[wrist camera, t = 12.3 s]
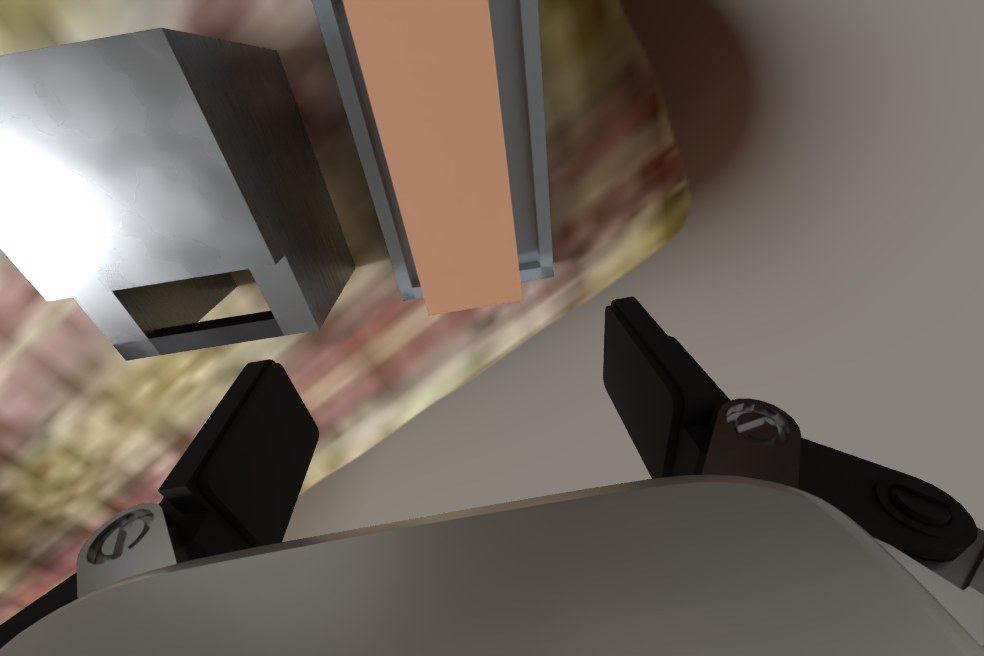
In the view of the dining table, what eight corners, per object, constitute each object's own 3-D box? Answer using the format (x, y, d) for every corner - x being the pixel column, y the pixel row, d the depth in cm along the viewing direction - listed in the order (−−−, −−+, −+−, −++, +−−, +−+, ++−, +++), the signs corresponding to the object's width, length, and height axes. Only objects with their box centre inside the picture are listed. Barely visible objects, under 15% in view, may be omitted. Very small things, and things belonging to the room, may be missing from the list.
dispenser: (85, 83, 19) (-148, 81, 12) (276, 50, 19) (161, 27, 12) (210, 291, 26) (110, 373, 18) (355, 267, 26) (312, 341, 18)
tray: (319, -12, 18) (305, -22, 16) (527, -48, 18) (534, -62, 16) (406, 287, 27) (403, 300, 25) (547, 264, 27) (553, 276, 25)
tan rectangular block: (374, 19, 18) (340, -6, 13) (477, 1, 18) (484, -32, 13) (435, 269, 25) (428, 315, 20) (510, 257, 25) (522, 300, 20)
